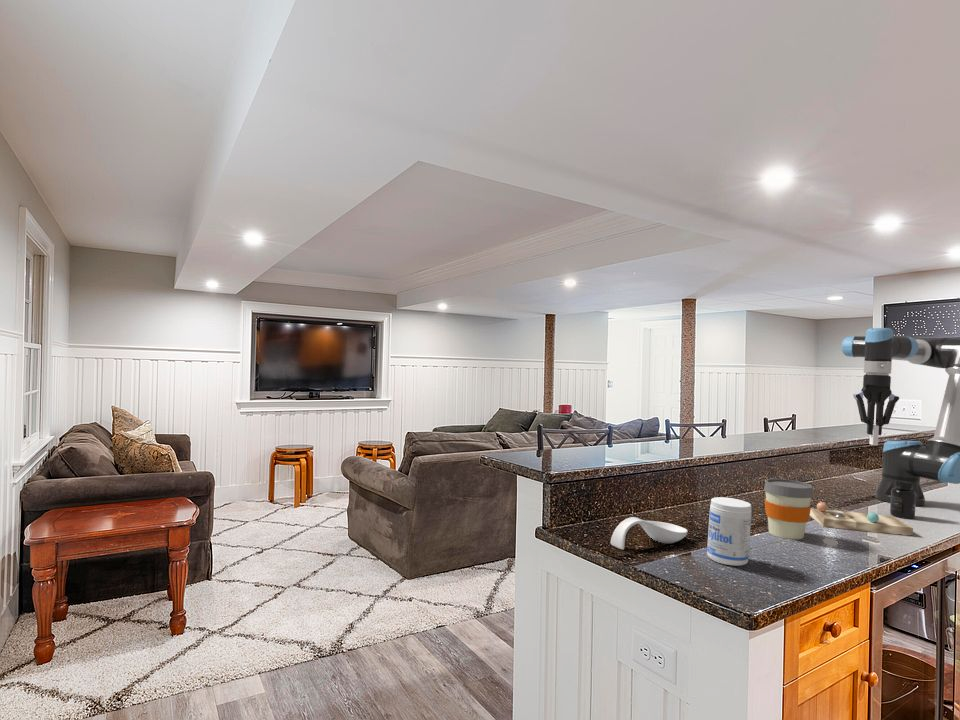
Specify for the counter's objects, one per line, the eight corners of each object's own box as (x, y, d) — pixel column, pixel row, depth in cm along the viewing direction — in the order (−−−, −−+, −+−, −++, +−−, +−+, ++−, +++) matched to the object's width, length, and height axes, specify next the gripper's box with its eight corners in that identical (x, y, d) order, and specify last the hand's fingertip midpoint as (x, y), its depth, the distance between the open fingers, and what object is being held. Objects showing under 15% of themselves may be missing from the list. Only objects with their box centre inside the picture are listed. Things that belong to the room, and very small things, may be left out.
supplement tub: (701, 559, 141) (704, 500, 140) (713, 550, 148) (716, 494, 148) (742, 570, 134) (745, 509, 134) (753, 560, 142) (756, 502, 141)
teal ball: (876, 521, 174) (876, 511, 174) (880, 524, 171) (880, 514, 171) (865, 520, 175) (865, 510, 175) (869, 523, 172) (869, 513, 172)
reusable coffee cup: (792, 543, 157) (795, 489, 156) (752, 530, 168) (755, 480, 168) (820, 538, 162) (822, 486, 162) (779, 525, 174) (782, 477, 173)
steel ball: (844, 521, 180) (842, 511, 181) (848, 524, 177) (846, 514, 177) (833, 522, 181) (831, 512, 181) (836, 525, 178) (835, 515, 178)
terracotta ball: (825, 510, 185) (825, 501, 185) (828, 513, 182) (829, 503, 182) (815, 509, 185) (815, 500, 185) (818, 512, 182) (818, 502, 182)
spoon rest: (662, 531, 163) (663, 506, 163) (696, 544, 153) (697, 517, 153) (601, 542, 151) (602, 515, 151) (633, 556, 141) (634, 528, 141)
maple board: (892, 523, 182) (892, 516, 182) (912, 536, 169) (913, 527, 169) (809, 515, 187) (810, 508, 187) (823, 526, 175) (823, 518, 175)
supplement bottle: (919, 520, 188) (921, 484, 188) (896, 518, 189) (898, 482, 189) (908, 514, 194) (909, 480, 194) (885, 512, 196) (887, 478, 196)
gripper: (859, 373, 186) (856, 444, 186) (905, 375, 183) (901, 448, 183) (850, 373, 193) (847, 441, 194) (894, 375, 190) (890, 444, 191)
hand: (873, 444), depth 189 cm, fingers closed
